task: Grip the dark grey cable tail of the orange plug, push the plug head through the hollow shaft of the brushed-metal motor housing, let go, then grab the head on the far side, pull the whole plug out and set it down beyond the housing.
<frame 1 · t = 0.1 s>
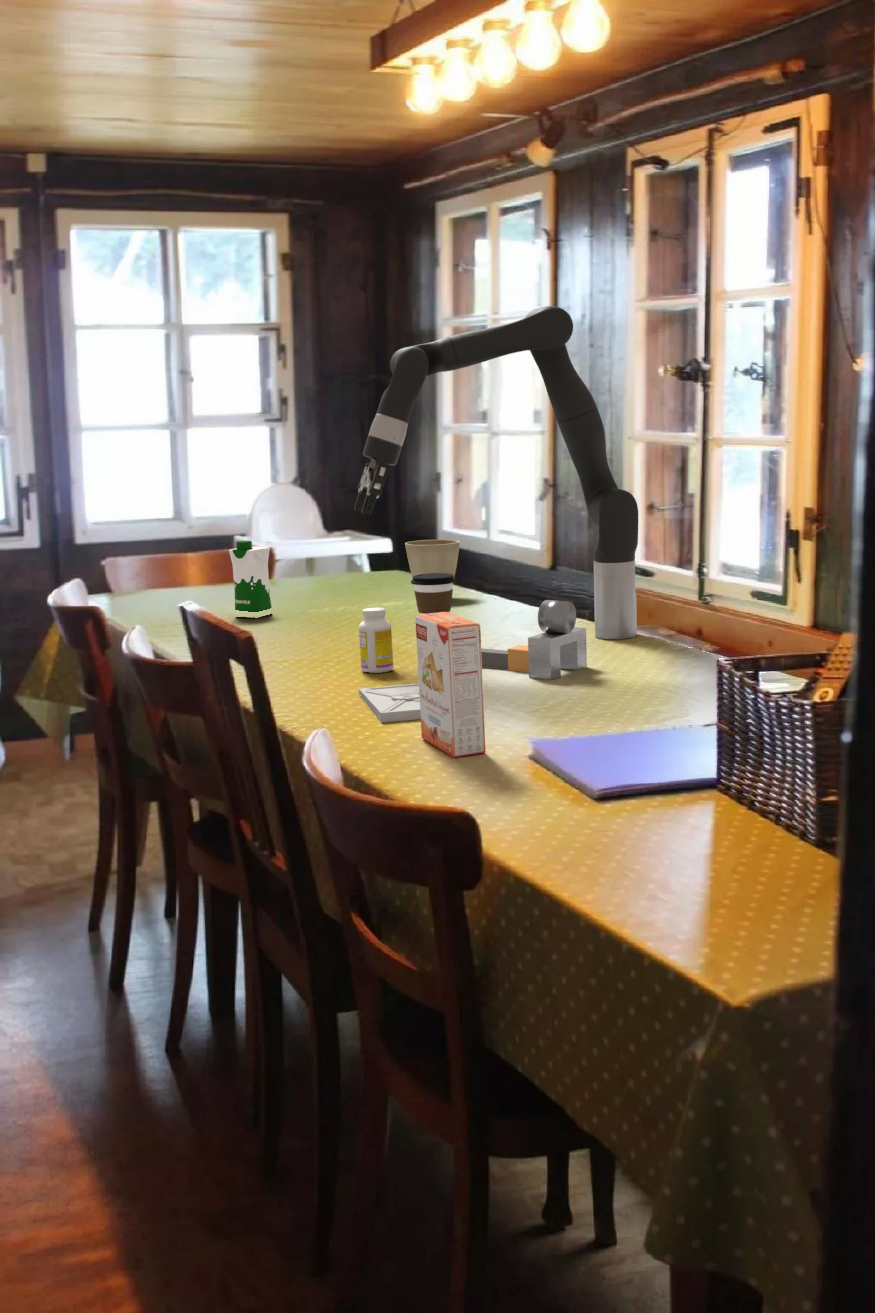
hand: (362, 512, 295), 31 cm above the table, tool tilted 20°, fingers open, 8 cm apart
envelope: (407, 709, 254), on the table
housing: (558, 672, 277), on the table
plant pot: (434, 600, 381), on the table
coffee cup: (435, 625, 341), on the table
cracker box: (452, 748, 222), on the table
plug: (514, 668, 283), on the table
milk carton: (254, 617, 365), on the table
supplement bottle: (377, 671, 286), on the table
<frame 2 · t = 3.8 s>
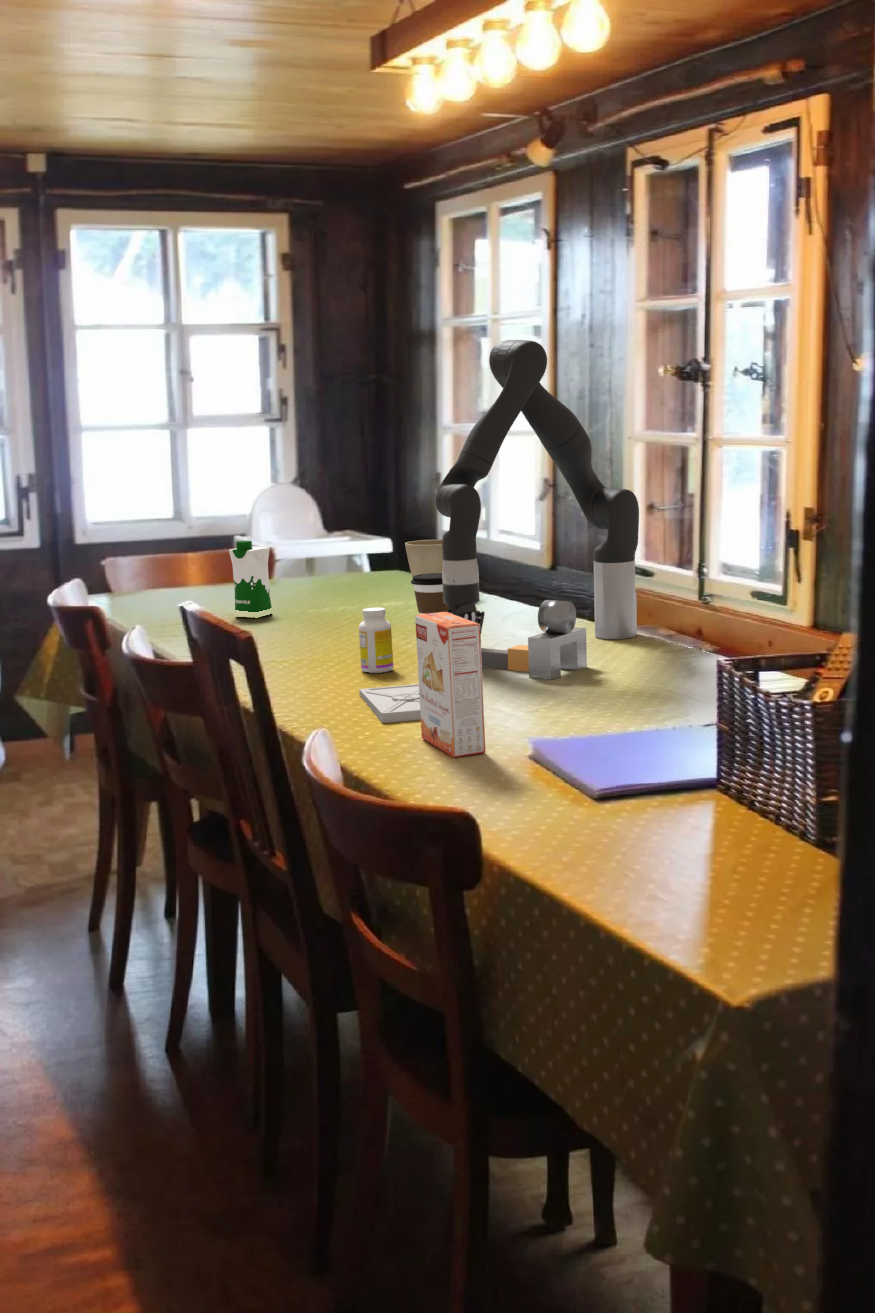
hand: (463, 662, 290), 0 cm above the table, tool pointing down, fingers closed on plug, 3 cm apart
plug: (514, 667, 283), on the table, touching gripper
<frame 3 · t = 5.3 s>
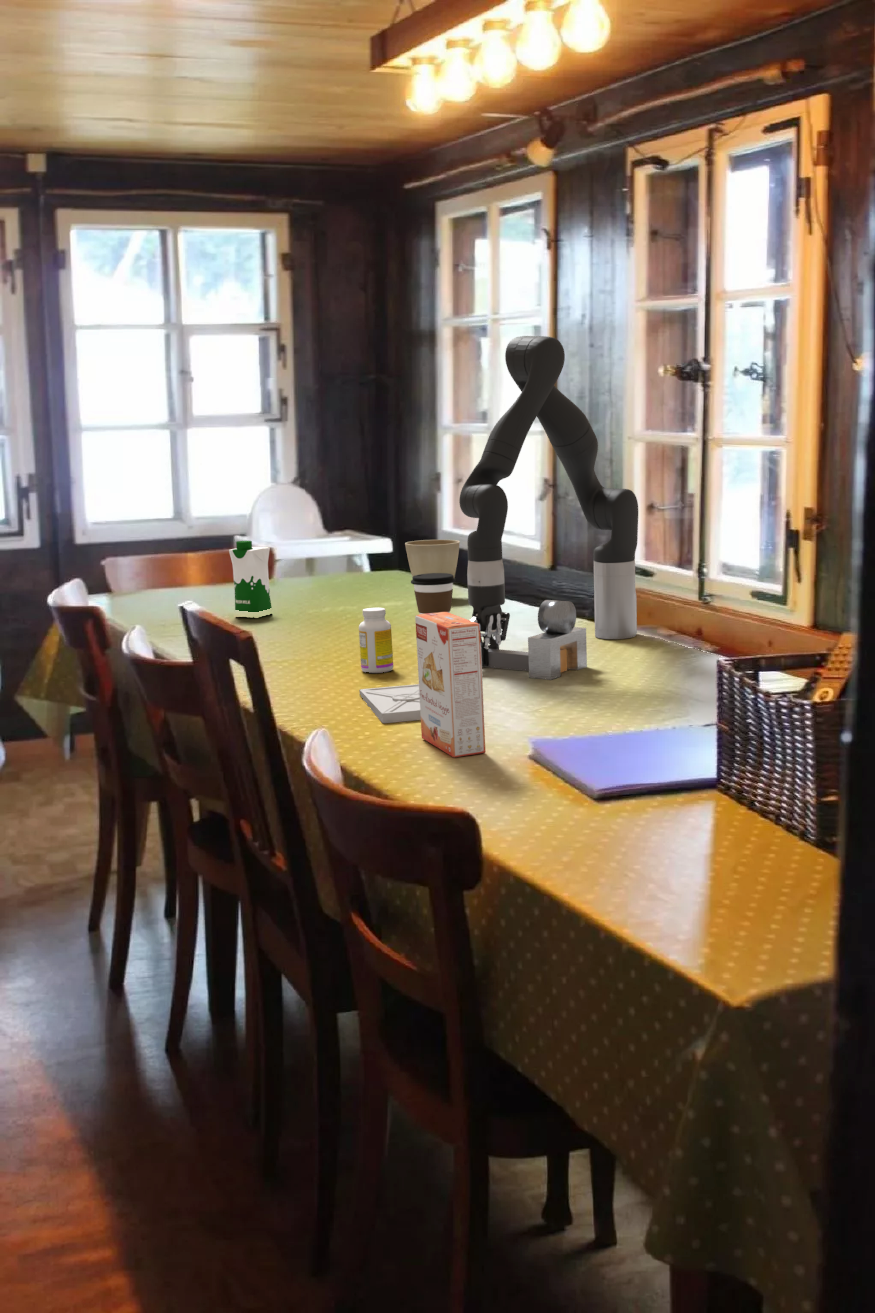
hand: (488, 664, 287), 0 cm above the table, tool pointing down, fingers closed on plug, 3 cm apart
plug: (539, 670, 279), on the table, touching gripper
everything else where it was.
when the fingers open (0 cm above the table, at t = 7.2 s): plug stays where it is, on the table.
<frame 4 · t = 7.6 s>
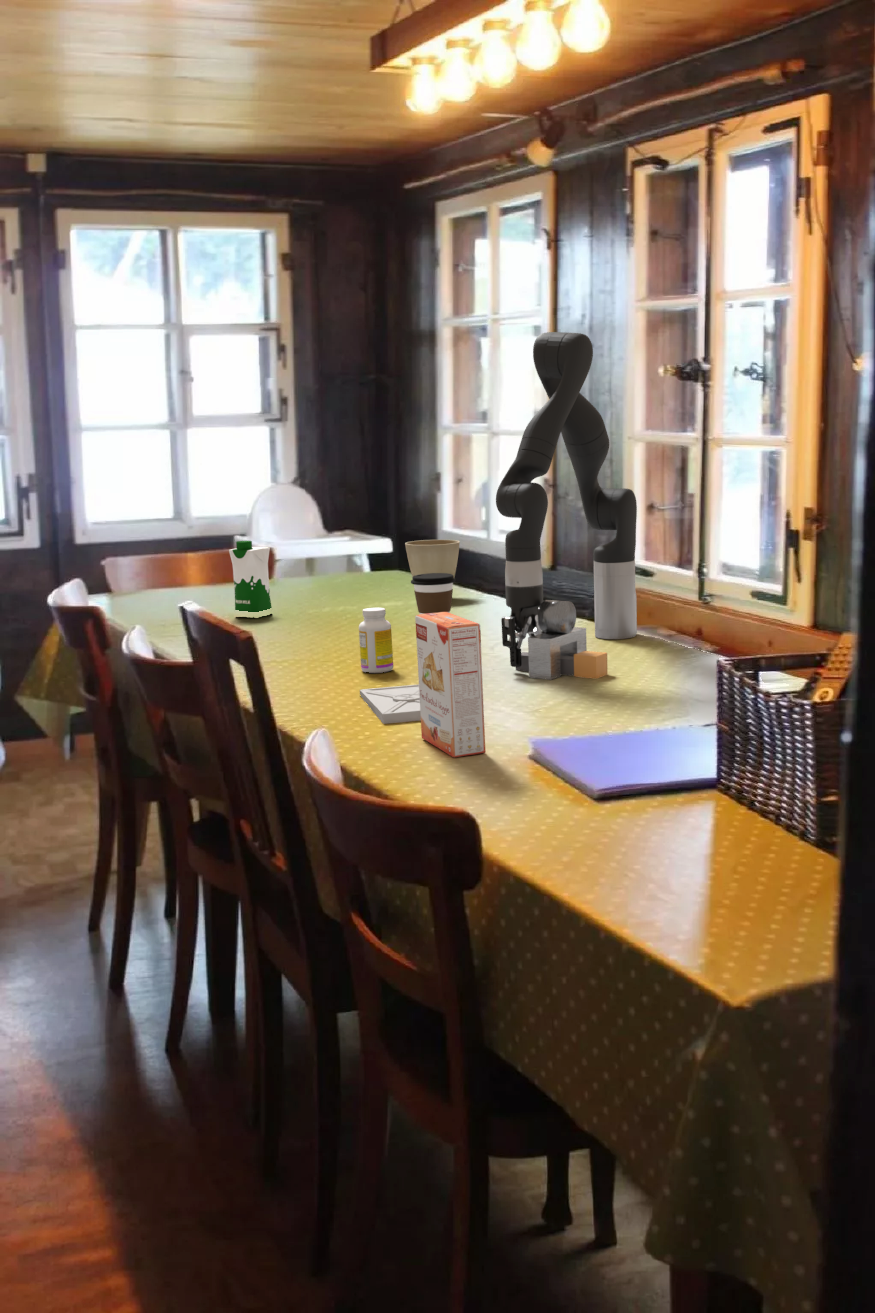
hand: (526, 663, 281), 1 cm above the table, tool pointing down, fingers open, 7 cm apart
plug: (579, 674, 274), on the table
everything else where it was.
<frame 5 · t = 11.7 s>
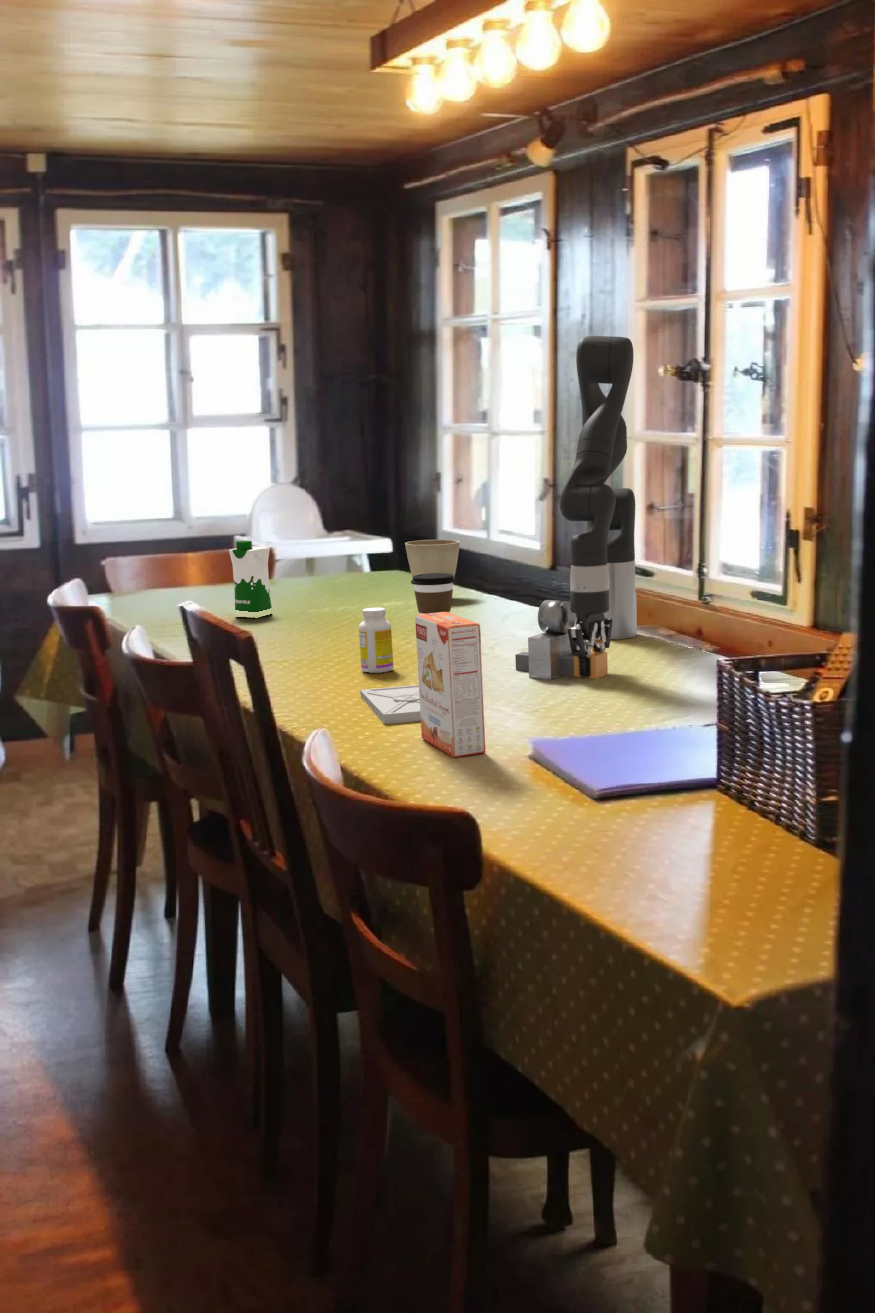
hand: (591, 673, 273), 0 cm above the table, tool pointing down, fingers closed on plug, 4 cm apart
plug: (579, 674, 274), on the table, touching gripper
when the fingers open (1 cm above the table, at t = 18.4 s): plug stays where it is, on the table.
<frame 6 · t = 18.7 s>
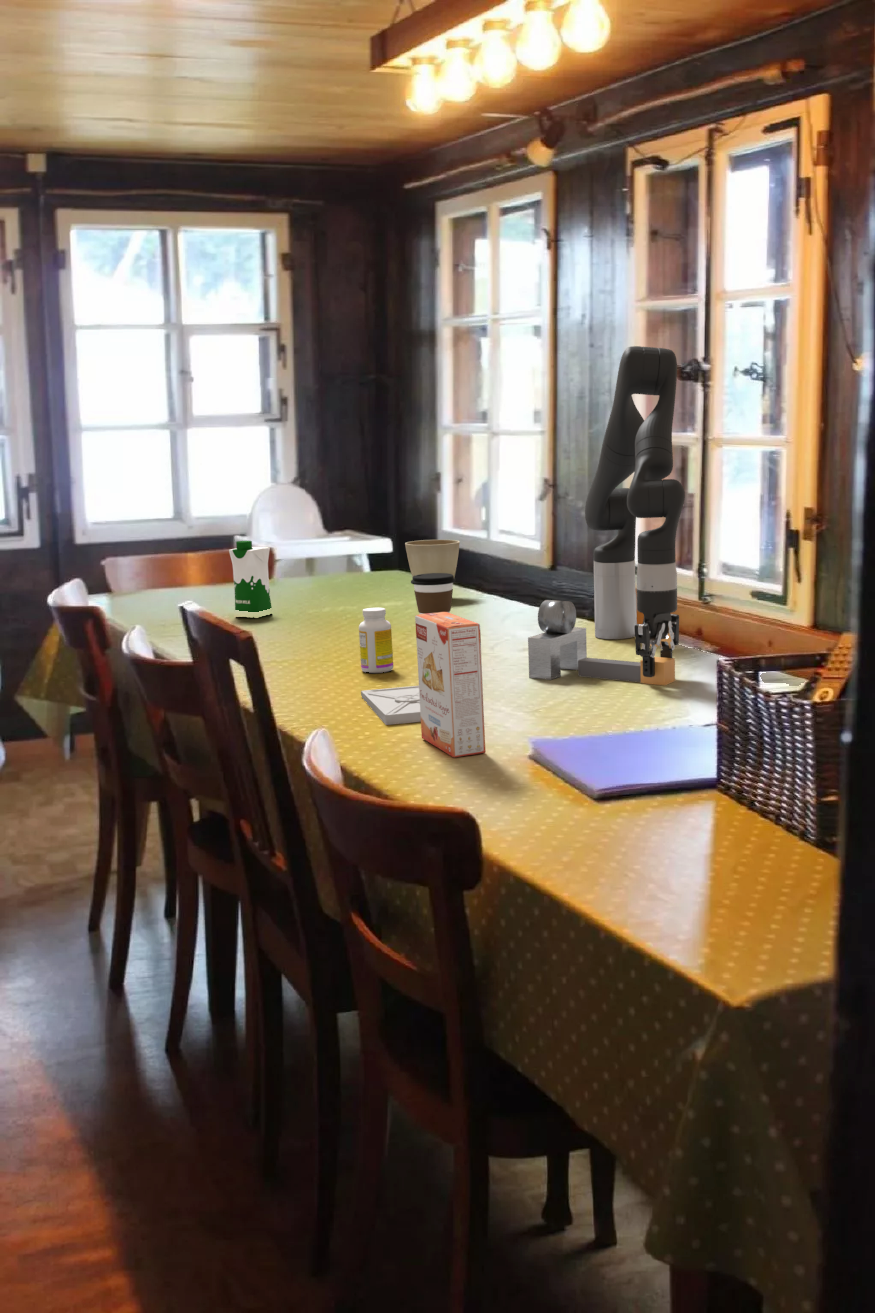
hand: (657, 672, 264), 2 cm above the table, tool pointing down, fingers open, 6 cm apart
plug: (646, 681, 266), on the table
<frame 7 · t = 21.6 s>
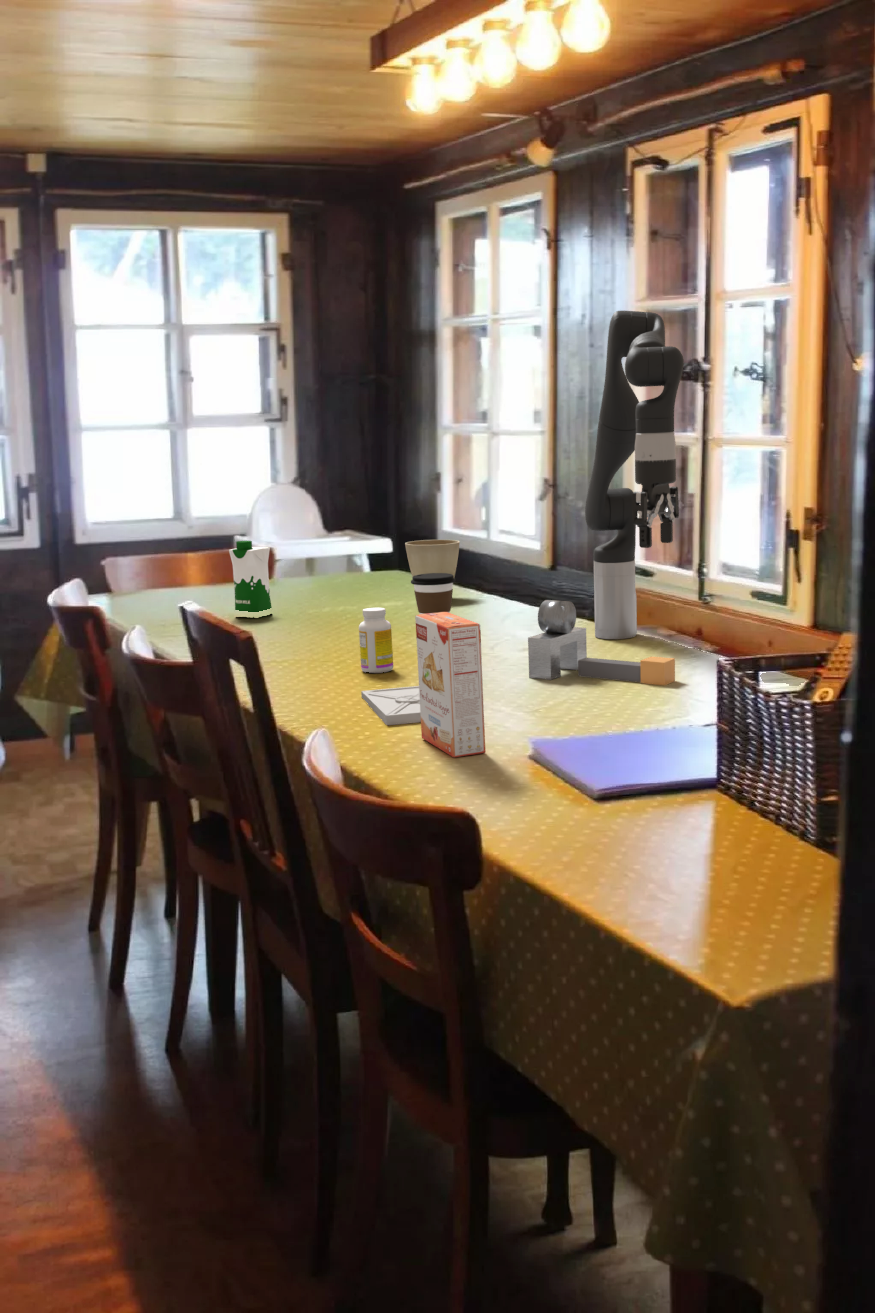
hand: (656, 545, 259), 26 cm above the table, tool pointing down, fingers open, 8 cm apart
at the end: plug inside the target area (0.5 cm from its centre), on the table; the gripper is holding nothing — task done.
